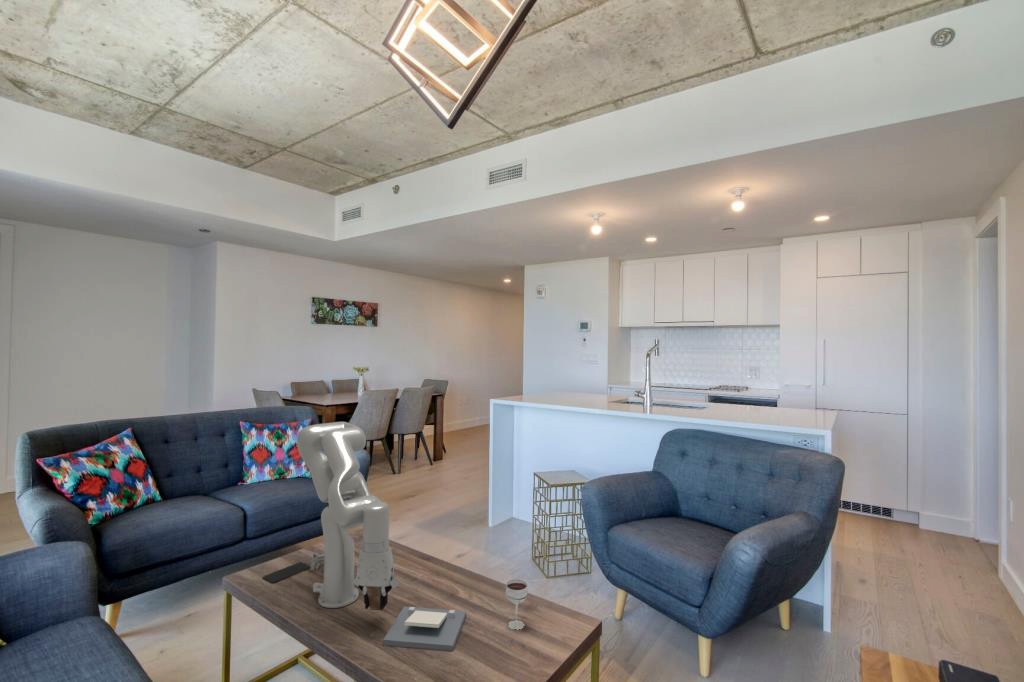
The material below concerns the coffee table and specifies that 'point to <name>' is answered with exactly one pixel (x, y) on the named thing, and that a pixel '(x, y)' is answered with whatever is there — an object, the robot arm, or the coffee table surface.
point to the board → (426, 631)
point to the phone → (286, 572)
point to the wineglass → (516, 598)
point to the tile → (426, 619)
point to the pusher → (374, 597)
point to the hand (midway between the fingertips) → (375, 606)
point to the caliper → (317, 560)
